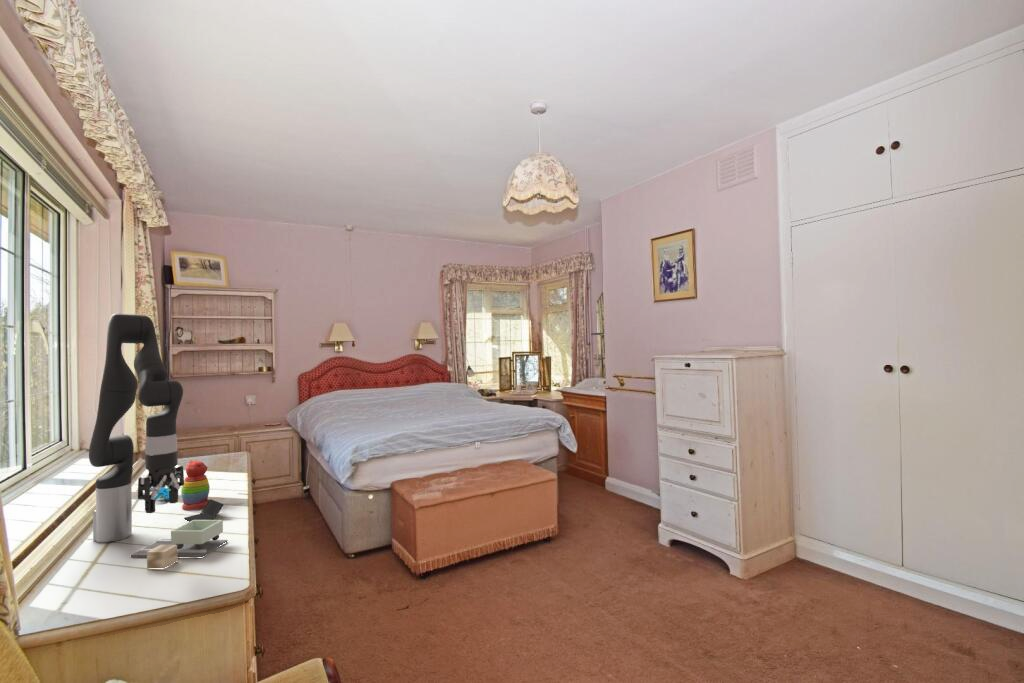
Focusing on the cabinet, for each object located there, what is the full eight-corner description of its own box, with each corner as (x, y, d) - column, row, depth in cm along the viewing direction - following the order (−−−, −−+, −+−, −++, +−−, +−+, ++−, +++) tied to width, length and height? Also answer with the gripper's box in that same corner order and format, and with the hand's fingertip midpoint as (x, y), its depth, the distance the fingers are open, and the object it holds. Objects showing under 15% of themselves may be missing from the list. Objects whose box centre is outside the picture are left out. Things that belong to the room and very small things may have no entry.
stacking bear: (217, 505, 197) (216, 460, 197) (189, 512, 188) (189, 465, 188) (203, 500, 203) (202, 457, 203) (175, 507, 194) (175, 462, 194)
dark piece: (177, 517, 178) (197, 491, 183) (193, 524, 184) (211, 498, 188) (196, 526, 173) (215, 500, 178) (211, 533, 178) (230, 507, 183)
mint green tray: (171, 550, 148) (171, 531, 148) (193, 538, 158) (193, 519, 158) (201, 550, 147) (201, 531, 147) (222, 538, 157) (222, 520, 157)
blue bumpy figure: (169, 499, 200) (150, 482, 199) (156, 510, 198) (137, 494, 198) (180, 495, 211) (162, 479, 210) (169, 506, 209) (150, 490, 209)
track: (130, 557, 148) (130, 552, 148) (161, 541, 160) (161, 537, 160) (201, 558, 146) (201, 553, 146) (227, 542, 158) (227, 537, 158)
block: (147, 569, 139) (147, 551, 139) (160, 562, 144) (160, 544, 144) (164, 570, 139) (163, 552, 139) (177, 562, 144) (177, 545, 144)
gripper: (168, 446, 149) (168, 500, 149) (128, 456, 135) (129, 516, 135) (191, 445, 149) (192, 500, 149) (154, 456, 135) (155, 516, 134)
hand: (162, 507), depth 142 cm, fingers open, 8 cm apart
